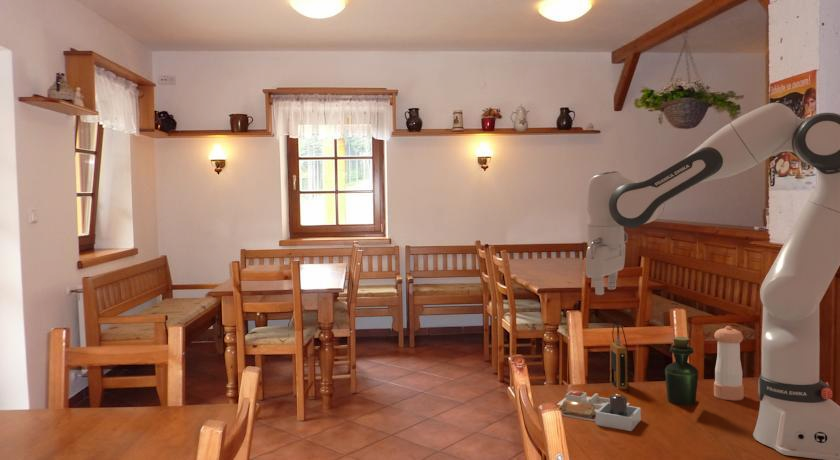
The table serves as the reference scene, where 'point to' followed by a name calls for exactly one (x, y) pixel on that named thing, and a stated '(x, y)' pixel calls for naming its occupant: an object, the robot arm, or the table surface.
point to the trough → (578, 416)
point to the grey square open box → (618, 418)
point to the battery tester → (587, 399)
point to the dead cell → (618, 404)
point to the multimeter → (619, 362)
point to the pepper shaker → (728, 365)
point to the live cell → (578, 409)
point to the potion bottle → (681, 375)
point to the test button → (576, 393)
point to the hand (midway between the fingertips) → (605, 291)
